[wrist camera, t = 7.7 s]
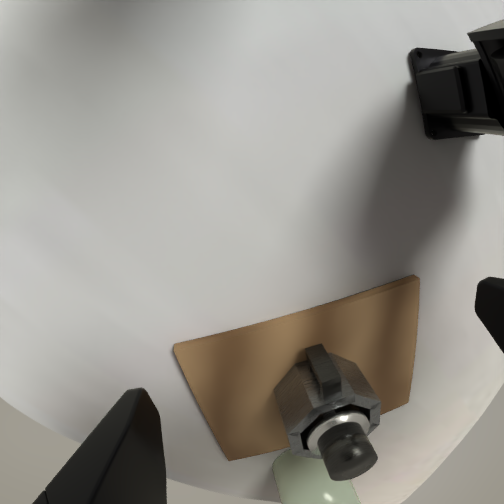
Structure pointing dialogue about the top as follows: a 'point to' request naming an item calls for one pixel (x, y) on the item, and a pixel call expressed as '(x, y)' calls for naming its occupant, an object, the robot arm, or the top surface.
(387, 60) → the top surface
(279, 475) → the sage mug
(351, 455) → the plunger
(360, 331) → the walnut board
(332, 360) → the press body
